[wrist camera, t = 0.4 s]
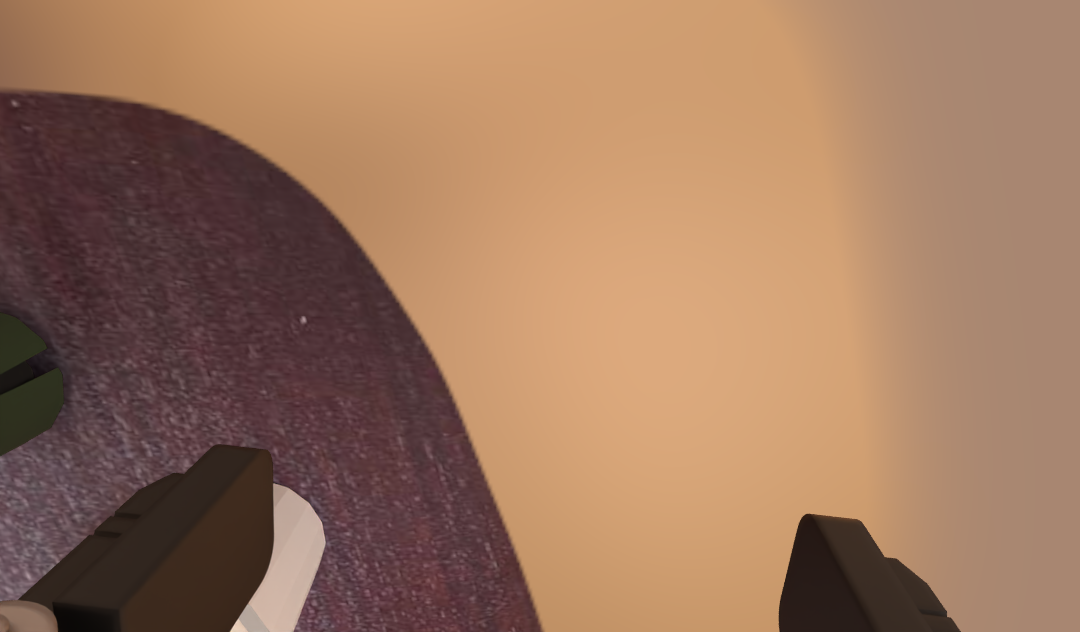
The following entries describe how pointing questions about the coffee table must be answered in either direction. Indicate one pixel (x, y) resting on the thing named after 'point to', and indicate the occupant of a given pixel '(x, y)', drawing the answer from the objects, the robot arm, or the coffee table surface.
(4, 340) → the character mug
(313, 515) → the shot glass
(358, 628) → the coffee table surface
